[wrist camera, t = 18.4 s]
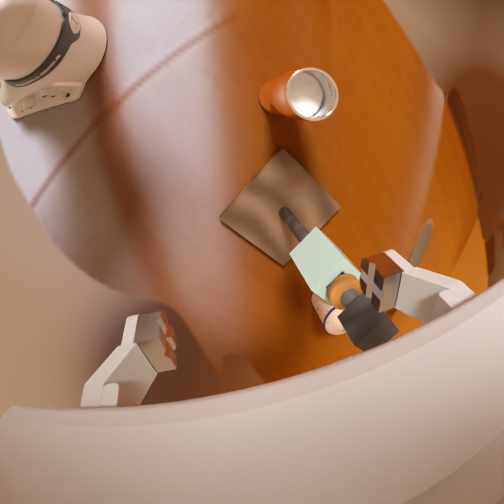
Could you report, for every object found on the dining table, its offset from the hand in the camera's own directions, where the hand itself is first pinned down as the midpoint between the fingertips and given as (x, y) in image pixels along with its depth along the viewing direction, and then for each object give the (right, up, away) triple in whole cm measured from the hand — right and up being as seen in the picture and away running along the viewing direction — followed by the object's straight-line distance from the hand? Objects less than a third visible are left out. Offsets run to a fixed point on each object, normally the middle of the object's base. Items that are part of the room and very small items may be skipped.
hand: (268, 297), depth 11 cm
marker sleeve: (+8, +2, +26) cm, 27 cm away
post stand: (+5, +9, +39) cm, 41 cm away
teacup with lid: (+16, -7, +51) cm, 54 cm away
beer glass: (+3, +27, +29) cm, 40 cm away
